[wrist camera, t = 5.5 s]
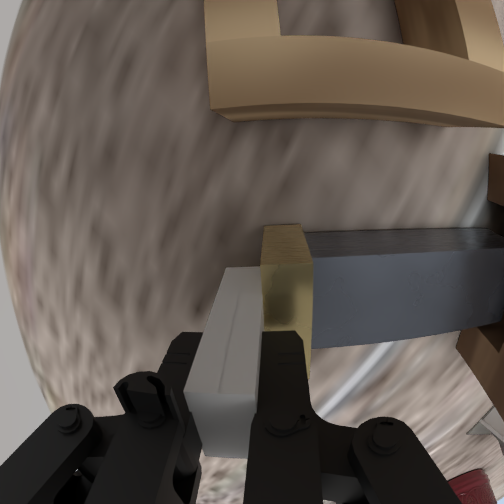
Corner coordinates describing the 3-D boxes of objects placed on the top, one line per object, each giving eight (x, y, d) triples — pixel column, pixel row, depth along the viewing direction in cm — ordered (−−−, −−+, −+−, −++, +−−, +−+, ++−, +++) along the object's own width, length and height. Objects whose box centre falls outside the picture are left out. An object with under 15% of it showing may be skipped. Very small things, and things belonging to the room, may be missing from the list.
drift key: (269, 319, 15) (267, 380, 11) (264, 226, 13) (260, 265, 9) (471, 300, 14) (511, 342, 10) (487, 220, 12) (539, 249, 8)
